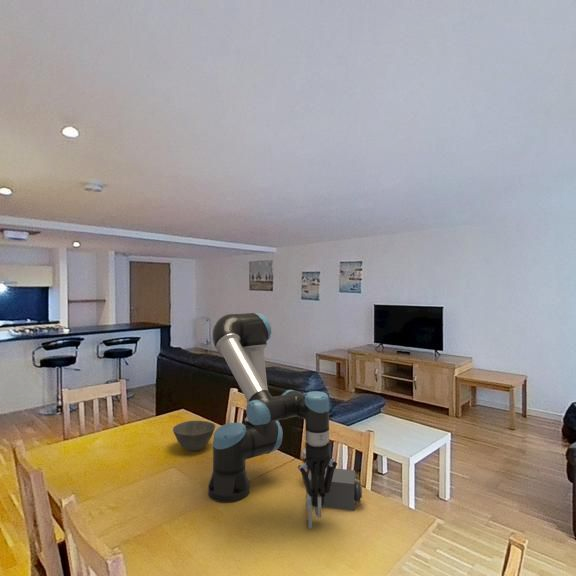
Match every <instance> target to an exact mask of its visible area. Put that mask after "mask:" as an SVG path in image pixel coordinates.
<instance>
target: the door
mask: <svg viewBox="0 0 576 576" xmlns="http://www.w3.org/2000/svg"><path fill="white" fill-rule="evenodd" d="M305 491H306V490H305ZM305 495H306V496H305V497H306V498H305V499H306V503H305V507H306V510H305V511H306V513H305V515H306V516H305V518H306V520H307V524H308V525H307V526H308V529H312V528H313V527H312V526H313V523H312V522H313V506H312V503H311V497H310V496H309V494H308V493H307V491H306V493H305Z"/></svg>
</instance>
